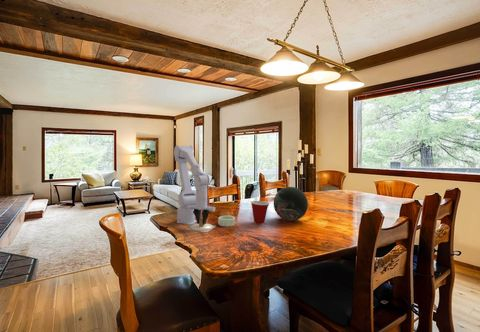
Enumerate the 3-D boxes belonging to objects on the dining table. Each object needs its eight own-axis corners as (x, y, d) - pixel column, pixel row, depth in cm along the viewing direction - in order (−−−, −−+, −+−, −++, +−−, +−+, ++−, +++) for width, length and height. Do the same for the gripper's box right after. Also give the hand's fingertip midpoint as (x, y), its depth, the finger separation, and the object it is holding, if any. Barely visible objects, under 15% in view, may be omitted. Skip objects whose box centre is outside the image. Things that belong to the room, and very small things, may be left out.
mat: (185, 230, 135) (185, 229, 135) (196, 224, 146) (196, 223, 146) (207, 233, 131) (207, 232, 131) (216, 226, 143) (216, 225, 143)
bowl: (216, 226, 143) (216, 218, 143) (222, 222, 152) (222, 215, 152) (231, 227, 140) (231, 220, 140) (237, 223, 149) (237, 216, 149)
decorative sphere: (297, 215, 170) (298, 184, 169) (314, 223, 151) (315, 188, 149) (268, 217, 164) (268, 185, 163) (281, 226, 145) (282, 189, 144)
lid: (187, 229, 135) (187, 220, 135) (196, 223, 146) (196, 215, 145) (206, 231, 132) (206, 222, 131) (215, 225, 142) (215, 217, 142)
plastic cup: (271, 224, 148) (272, 203, 147) (253, 225, 145) (253, 204, 145) (265, 219, 158) (265, 199, 158) (248, 220, 156) (248, 200, 155)
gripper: (185, 198, 136) (185, 224, 137) (211, 200, 132) (211, 227, 133) (191, 196, 143) (191, 221, 144) (216, 198, 138) (216, 223, 139)
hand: (201, 223), depth 139 cm, fingers closed on lid, 3 cm apart
